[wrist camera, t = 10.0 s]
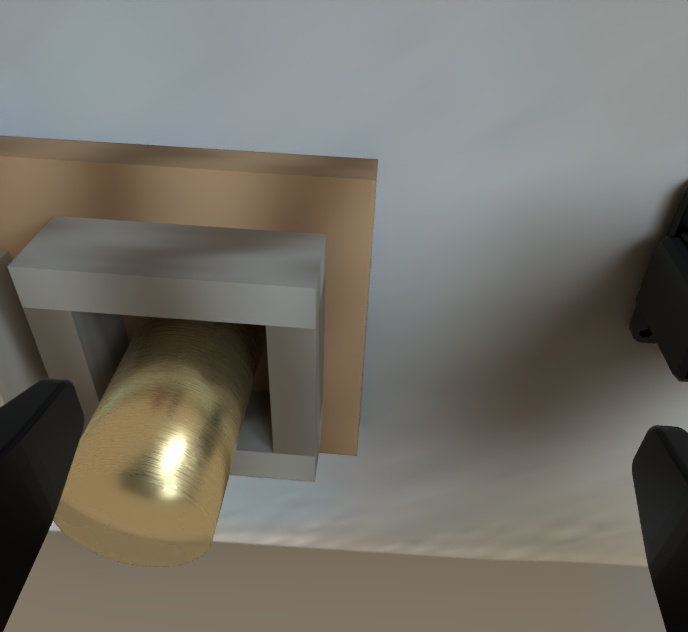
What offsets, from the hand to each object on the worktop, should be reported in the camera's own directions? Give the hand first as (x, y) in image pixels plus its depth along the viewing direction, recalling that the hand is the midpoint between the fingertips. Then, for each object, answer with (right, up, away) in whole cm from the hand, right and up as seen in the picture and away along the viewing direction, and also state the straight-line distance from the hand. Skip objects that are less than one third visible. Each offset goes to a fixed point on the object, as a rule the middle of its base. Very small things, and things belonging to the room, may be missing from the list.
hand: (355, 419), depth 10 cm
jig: (-8, +2, +14) cm, 17 cm away
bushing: (-5, +1, +13) cm, 14 cm away
